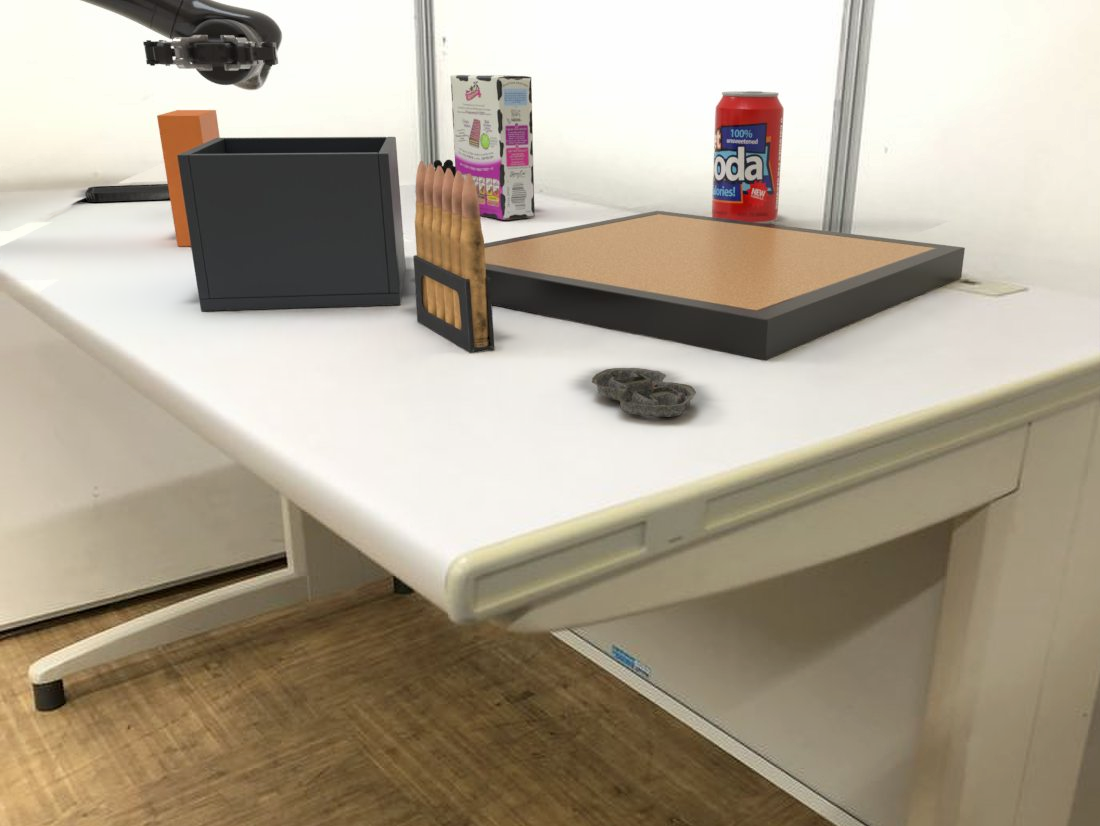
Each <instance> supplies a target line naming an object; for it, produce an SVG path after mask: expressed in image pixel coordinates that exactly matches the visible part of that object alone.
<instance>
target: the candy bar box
mask: <svg viewBox="0 0 1100 826" xmlns="http://www.w3.org/2000/svg"><path fill="white" fill-rule="evenodd" d="M449 78H450V90H451V91H450V92H451V111H452V112H451V113H452V129H453V131H452V133H453V150H454V151H453V152H454V166H455V173H456V172H457V171H460V172H461V174H462V176H463V179H464V181H465V178H466V175H467V174H468V173H470V174H471V176H472V178H473V180H474V183H475V187H476V190H477V195H478V201H479V212H480V217H481V216H482V217H487V218H492V219H495V220H496V219H497V220H501V221H510V220H520V219H530V218H535V216H536V214H535V183H534V182H535V178H534V177H535V176H534V145H533V143H534V142H533V140H534V132H533V92H532V91H533V90H532V76H528V75H508V74H507V75H506V74H452V75H450V77H449Z"/></svg>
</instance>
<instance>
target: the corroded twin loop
mask: <svg viewBox="0 0 1100 826" xmlns="http://www.w3.org/2000/svg"><path fill="white" fill-rule="evenodd" d="M666 377H667V375H666V374H665V373H663V372H661V371H659V370H653V369H649V368H648V369H647V368H640V367H613V368H606V369H604V370H601V371H600V372H597V373H596V374H595V375H594V376H593V377H592V379H591V383H592V384H594V385H595V386H596V387H597V393H598V394H599V395H601V396H602V397H603V398H609V399H611V400H616V401H617V400H618V401H619V404H620V409H621V410H622V412H623V411H624V412H625V413H627V414H628V415H636V416H641V417H650V418H651V417H653V418H663V417H667V418H671V417H677V416H681V414H683V413H684V412H685V411H686V408H688V407H689V406H690V404H691V401H693V398H694V397H695V395H696V394H697V391H696V390H695V388H694V387H693V386H691V385H690V384H685V383H679V382H671V381H670V382H668V381H664V379H665V378H666Z"/></svg>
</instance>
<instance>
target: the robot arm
mask: <svg viewBox="0 0 1100 826" xmlns="http://www.w3.org/2000/svg"><path fill="white" fill-rule="evenodd" d="M80 1H82V2H84V3H87V4H90V5H93V6H95V7H98V8H101V9H104V10H106V11H108V12H112V13H114V14H117V15H119V16H121V17H124V18H126V19H128V20H131V21H132V22H135V23H137V24H139V25H141V26H143V27H144V28H146V29H149V30H150V31H152V32H155V33H157V34H159V35H161V36H162V37H164V38H167V39H169V40H172V41H167V40H164V39H159V40H157V41H154V40H153V41H152V40H151V39H147V40H146V41H143V42H142V43H143V44H142V45H143V47H144V53H145V62H146V65H149V66H151V67H153V66H155V67H156V65H163V66H164V65H165V67H170V66H171V65H175V66H176V67H177V68H178V69H182V70H183V69H184V70H191V69H192V70H193V69H195V70H196V71H197V72H198V74H199V75H201V76H202V77H203V78H204V79H205V80H208V81H209V82H210V83H213V84H216V85H221V86H231V85H232V86H234V87H237V88H240V89H242V90H246V91H257V90H259V89H261V88H262V87H263V86H264V85H265V83H266V82H267V79H268V77H269V74H270V71H271V69H272V67H273V66H276V65H279V58H278V51H279V48H280V46H281V44H282V40H283V32H282V29H281V28H280V26H279V25H278V23H277V22H276V21H275V20H274V19H273V18H272V17H270V16H269V15H267V14H265V13H263V12H261V11H256V10H253V9H248V8H244V7H238V6H234V5H231V4H230V5H229V4H226V3H221V2H218V1H215V0H80ZM174 57H175V59H174Z"/></svg>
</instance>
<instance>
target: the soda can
mask: <svg viewBox="0 0 1100 826" xmlns="http://www.w3.org/2000/svg"><path fill="white" fill-rule="evenodd" d="M721 95H722V97H721V98H720V100H719V102H718V103H717V104H716V106H715V110H714V111H715V112H714V136H713V137H714V138H713V139H714V140H713V141H714V142H713V171H712V174H713V175H712V197H711V217H714V218H722V219H731V220H739V221H747V222H756V223H764V224H772V223H774V222H775V221H777V219H778V216H779V215H778V214H779V201H780V199H779V198H780V185H781V184H780V183H781V167H782V166H781V163H782V146H783V131H784V114H785V113H784V112H785V110H784V106H783V104H782V103H781V101H780V99H779V92H775V91H774V92H773V91H763V90H762V91H761V90H757V91H756V90H746V91H743V90H742V91H739V90H738V91H737V90H735V91H722V92H721Z"/></svg>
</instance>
